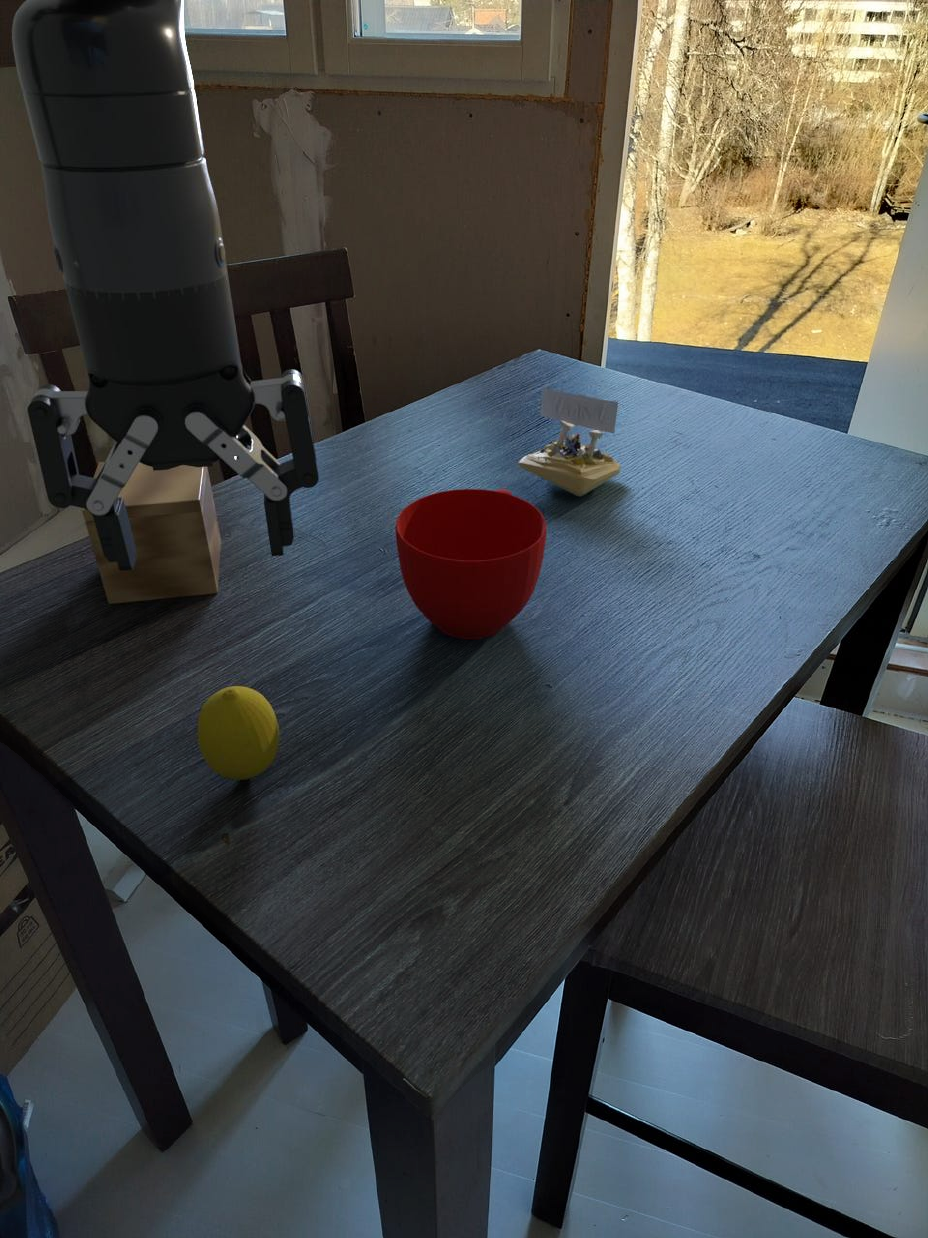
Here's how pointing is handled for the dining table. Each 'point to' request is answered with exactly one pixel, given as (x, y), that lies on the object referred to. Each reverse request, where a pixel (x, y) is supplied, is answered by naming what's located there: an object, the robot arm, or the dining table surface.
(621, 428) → the dining table surface
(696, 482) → the dining table surface
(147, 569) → the wooden cube
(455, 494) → the ceramic cup
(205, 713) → the lemon
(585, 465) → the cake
